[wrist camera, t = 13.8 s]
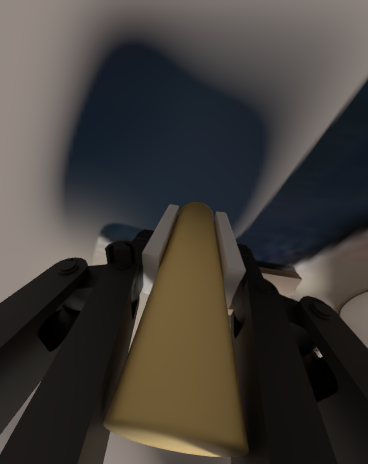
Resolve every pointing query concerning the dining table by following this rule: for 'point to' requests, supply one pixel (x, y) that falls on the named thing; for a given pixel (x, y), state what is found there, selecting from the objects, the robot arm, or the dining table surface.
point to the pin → (183, 353)
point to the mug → (357, 316)
